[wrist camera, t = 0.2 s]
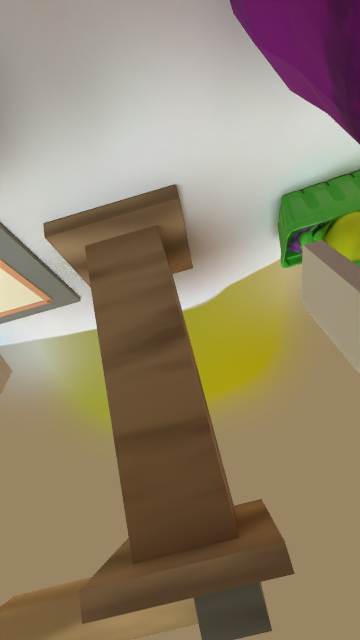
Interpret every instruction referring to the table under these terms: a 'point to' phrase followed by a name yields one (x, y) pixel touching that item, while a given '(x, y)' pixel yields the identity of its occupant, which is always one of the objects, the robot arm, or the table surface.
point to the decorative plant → (311, 50)
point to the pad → (27, 282)
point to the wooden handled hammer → (133, 616)
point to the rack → (159, 419)
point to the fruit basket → (321, 219)
